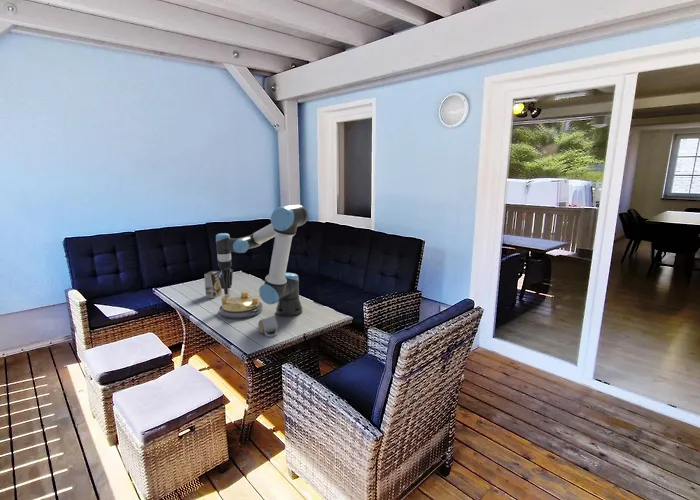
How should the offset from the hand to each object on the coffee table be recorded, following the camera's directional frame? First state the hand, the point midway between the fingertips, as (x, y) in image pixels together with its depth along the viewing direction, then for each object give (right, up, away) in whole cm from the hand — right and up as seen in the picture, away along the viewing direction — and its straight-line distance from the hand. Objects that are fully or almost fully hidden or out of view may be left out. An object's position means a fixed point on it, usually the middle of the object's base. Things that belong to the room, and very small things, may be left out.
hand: (227, 298), depth 216 cm
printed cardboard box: (-17, -2, +25) cm, 30 cm away
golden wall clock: (+9, -4, -2) cm, 10 cm away
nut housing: (+9, -7, -1) cm, 11 cm away
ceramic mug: (+32, -14, -30) cm, 45 cm away
